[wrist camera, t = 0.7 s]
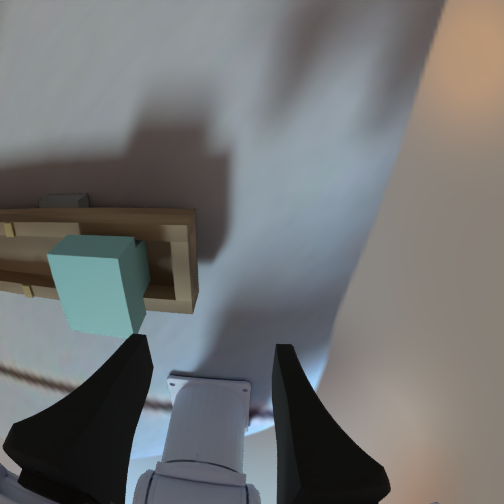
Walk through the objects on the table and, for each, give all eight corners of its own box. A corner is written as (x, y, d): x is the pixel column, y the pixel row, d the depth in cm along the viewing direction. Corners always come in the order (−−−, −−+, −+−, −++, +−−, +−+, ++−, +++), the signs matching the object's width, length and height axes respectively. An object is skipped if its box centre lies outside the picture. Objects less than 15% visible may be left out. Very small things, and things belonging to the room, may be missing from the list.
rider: (155, 293, 21) (135, 339, 17) (98, 288, 21) (70, 329, 17) (146, 221, 18) (117, 258, 14) (84, 219, 18) (46, 254, 14)
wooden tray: (202, 285, 24) (192, 322, 20) (3, 268, 23) (-22, 292, 20) (199, 193, 20) (185, 218, 16) (-16, 198, 20) (-46, 217, 16)
